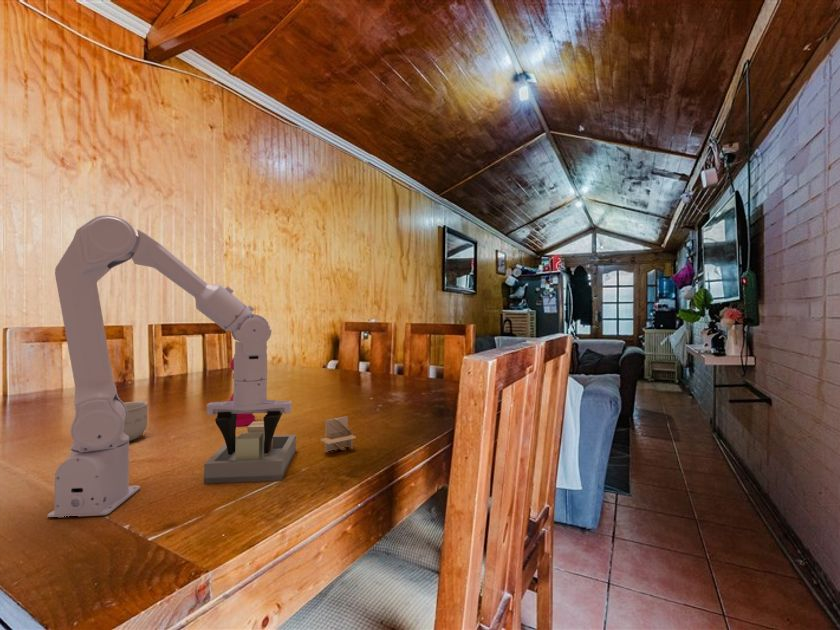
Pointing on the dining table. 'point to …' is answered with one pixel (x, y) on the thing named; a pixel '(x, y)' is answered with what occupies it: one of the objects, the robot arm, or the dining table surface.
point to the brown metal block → (259, 428)
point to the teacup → (135, 419)
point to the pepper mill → (244, 417)
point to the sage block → (249, 446)
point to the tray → (251, 464)
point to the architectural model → (337, 434)
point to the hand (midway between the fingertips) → (249, 452)
